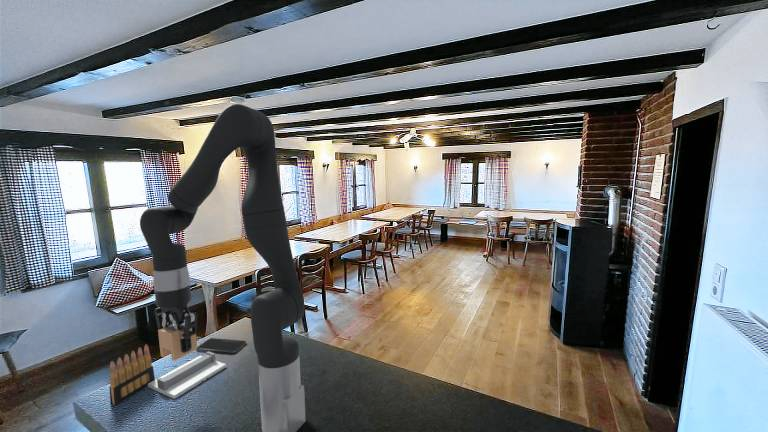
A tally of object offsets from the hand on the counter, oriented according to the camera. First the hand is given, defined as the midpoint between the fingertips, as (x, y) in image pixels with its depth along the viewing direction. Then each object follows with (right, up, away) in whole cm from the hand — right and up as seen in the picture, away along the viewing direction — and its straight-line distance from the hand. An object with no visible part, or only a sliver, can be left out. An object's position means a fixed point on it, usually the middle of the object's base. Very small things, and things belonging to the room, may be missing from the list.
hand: (178, 348), depth 82 cm
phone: (-4, -13, +31) cm, 33 cm away
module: (0, -1, 0) cm, 1 cm away
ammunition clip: (-17, -15, +7) cm, 23 cm away
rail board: (-6, -14, +14) cm, 20 cm away
